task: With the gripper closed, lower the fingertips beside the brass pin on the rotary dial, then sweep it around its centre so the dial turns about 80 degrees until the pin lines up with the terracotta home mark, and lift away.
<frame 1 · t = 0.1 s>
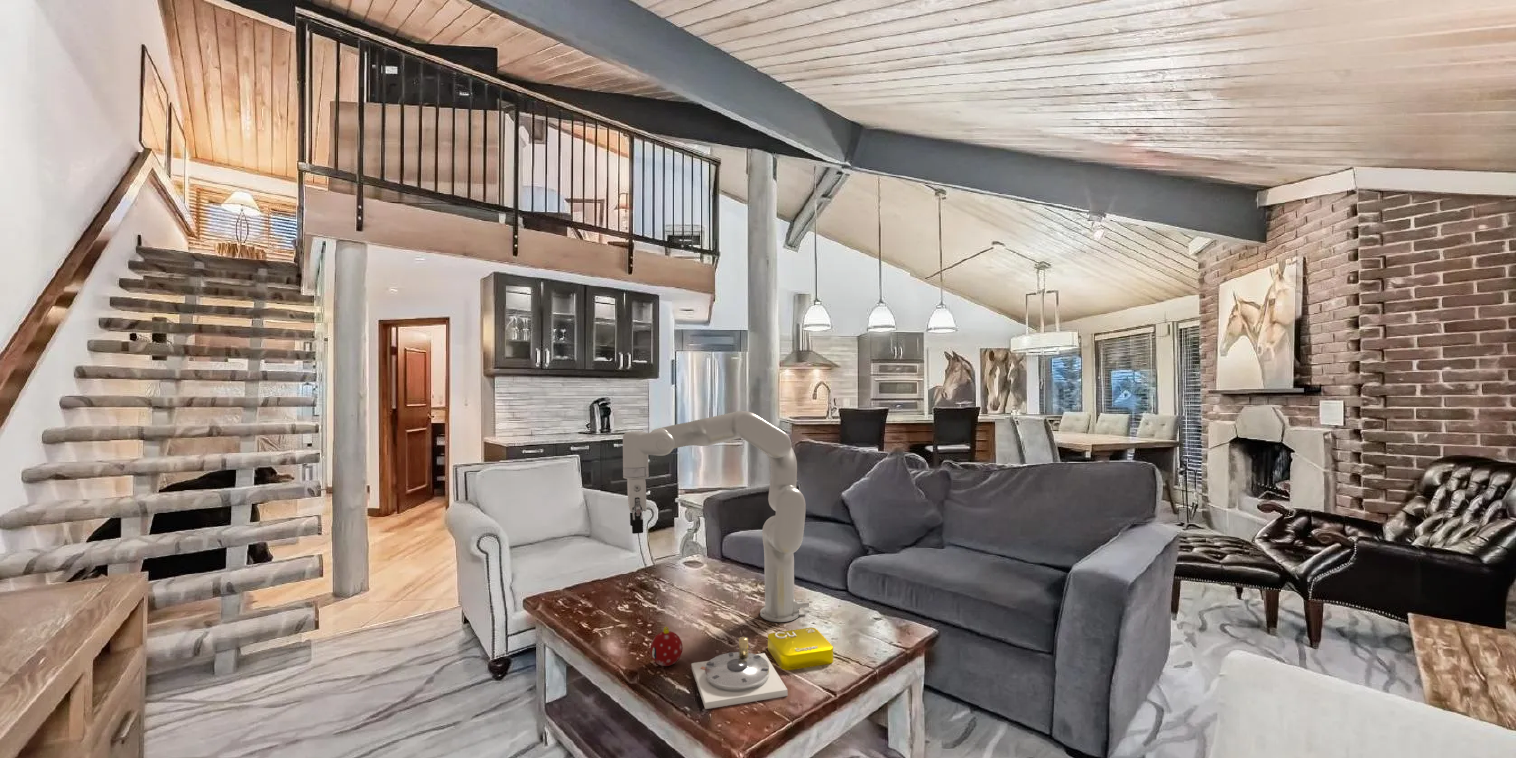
hand: (636, 529, 180), 31 cm above the table, tool pointing down, fingers open, 9 cm apart
rotary dial: (737, 661, 150), point 5 cm above the table, hinge at 0.0°
element tile: (799, 656, 165), on the table
base plate: (737, 681, 150), on the table
christmas ornament: (666, 665, 160), on the table
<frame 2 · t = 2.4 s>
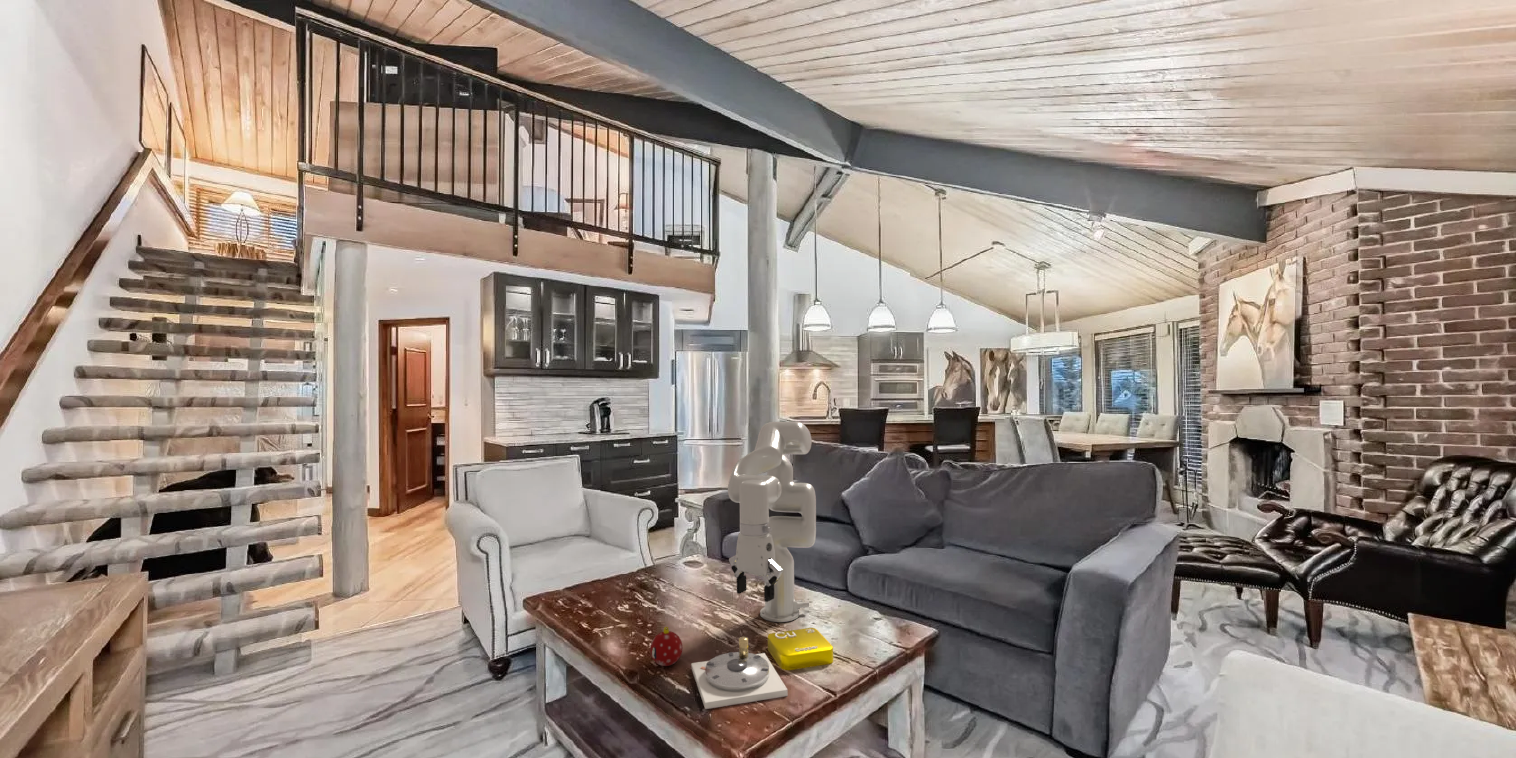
hand: (755, 595, 154), 20 cm above the table, tool pointing down, fingers open, 8 cm apart
nothing on the table moved.
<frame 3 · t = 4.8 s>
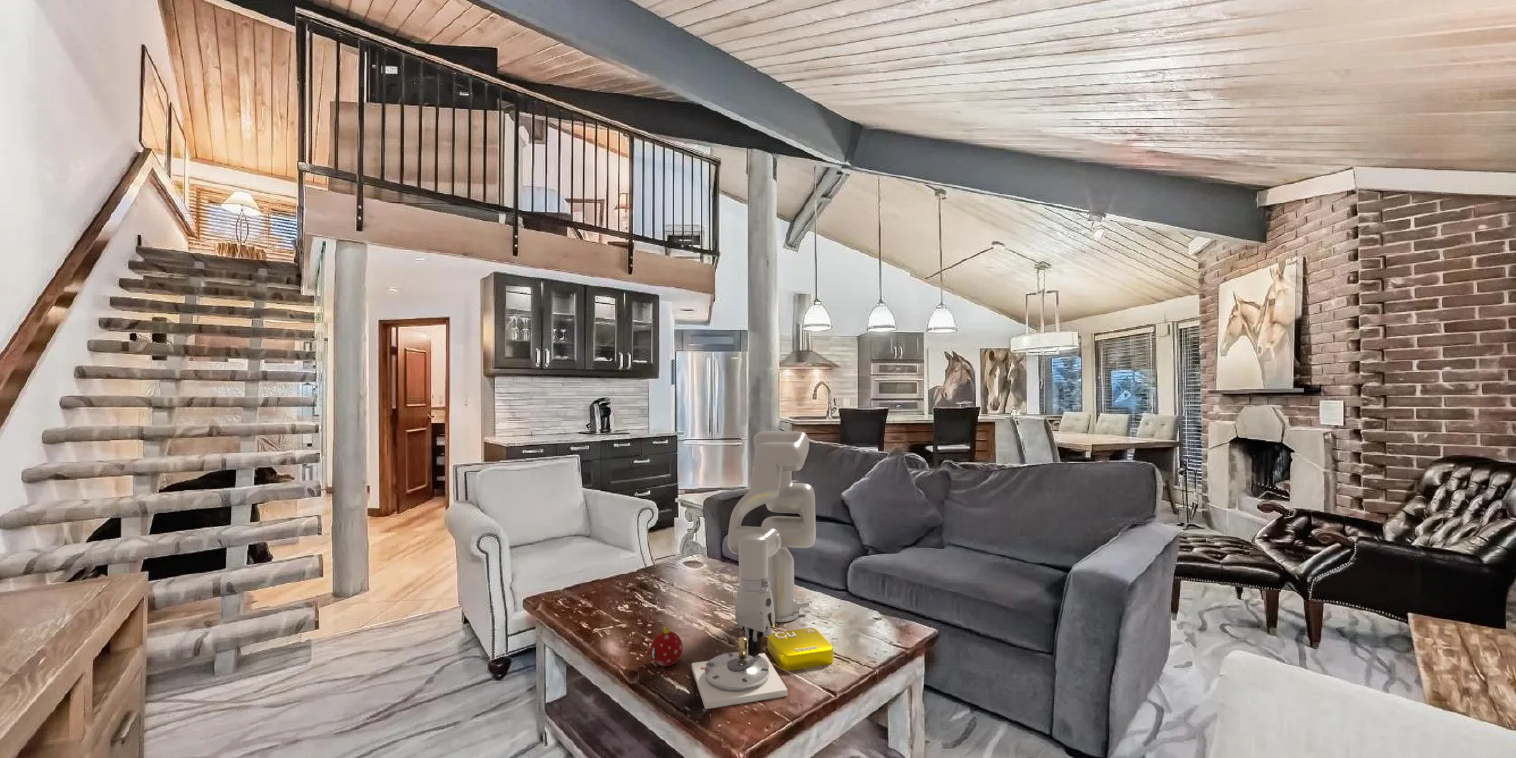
hand: (754, 654, 154), 5 cm above the table, tool pointing down, fingers closed
rotary dial: (737, 661, 150), point 5 cm above the table, hinge at 0.7°, touching gripper
everything else where it was.
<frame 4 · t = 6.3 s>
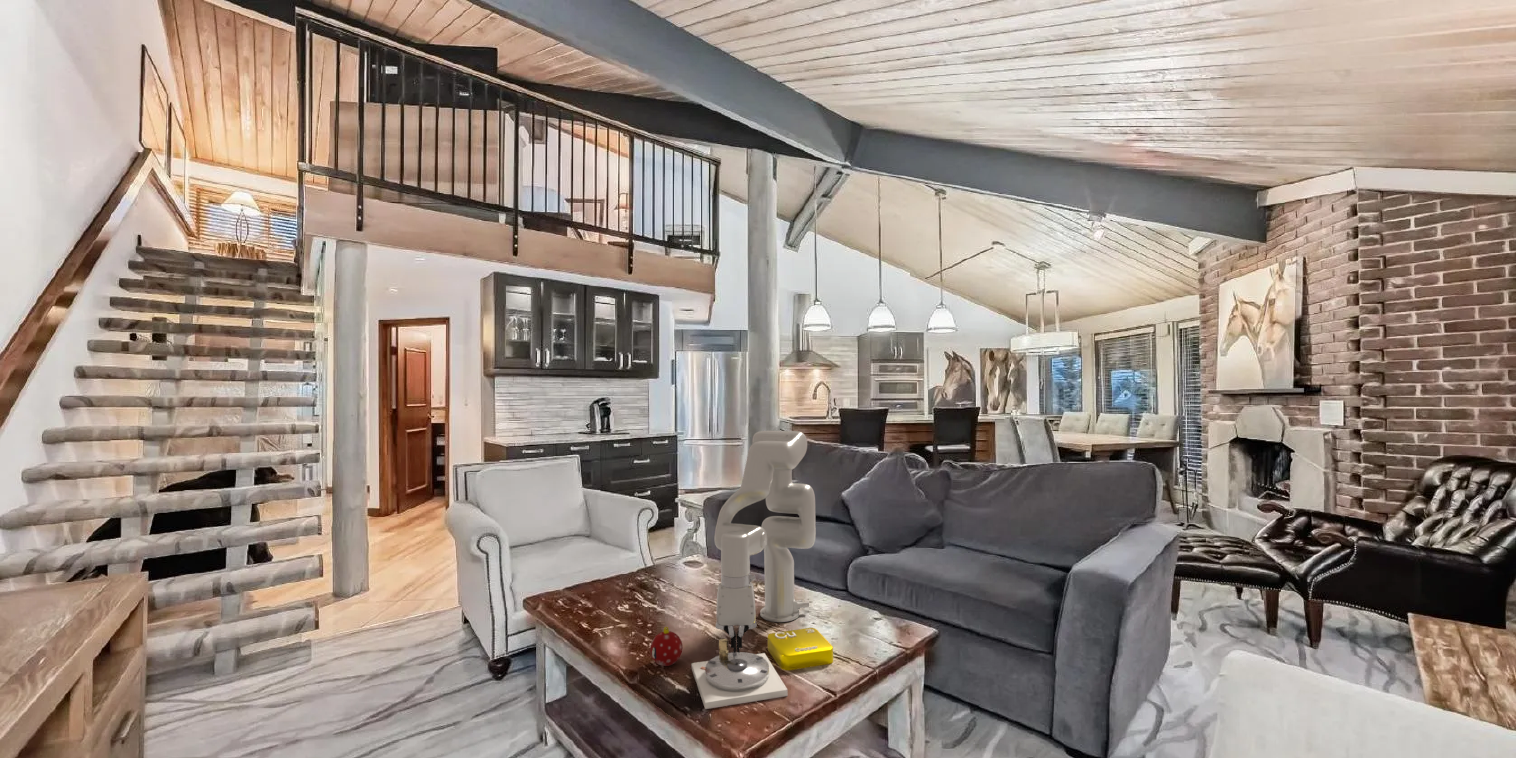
hand: (736, 650, 156), 5 cm above the table, tool pointing down, fingers closed
rotary dial: (737, 661, 150), point 5 cm above the table, hinge at 52.2°, touching gripper
everything else where it was.
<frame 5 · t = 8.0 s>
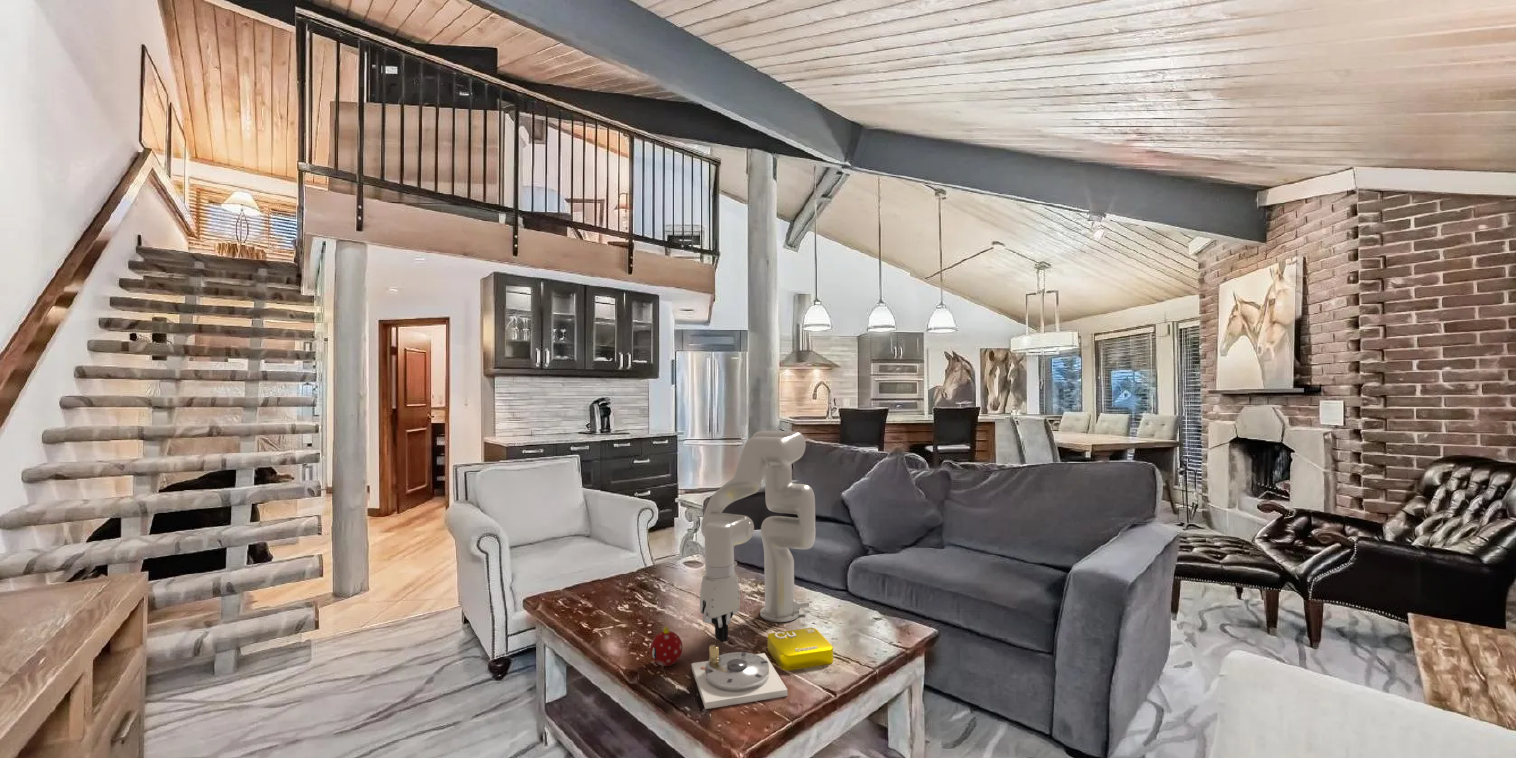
hand: (721, 639, 155), 9 cm above the table, tool pointing down, fingers closed
rotary dial: (737, 661, 150), point 5 cm above the table, hinge at 92.3°
everything else where it was.
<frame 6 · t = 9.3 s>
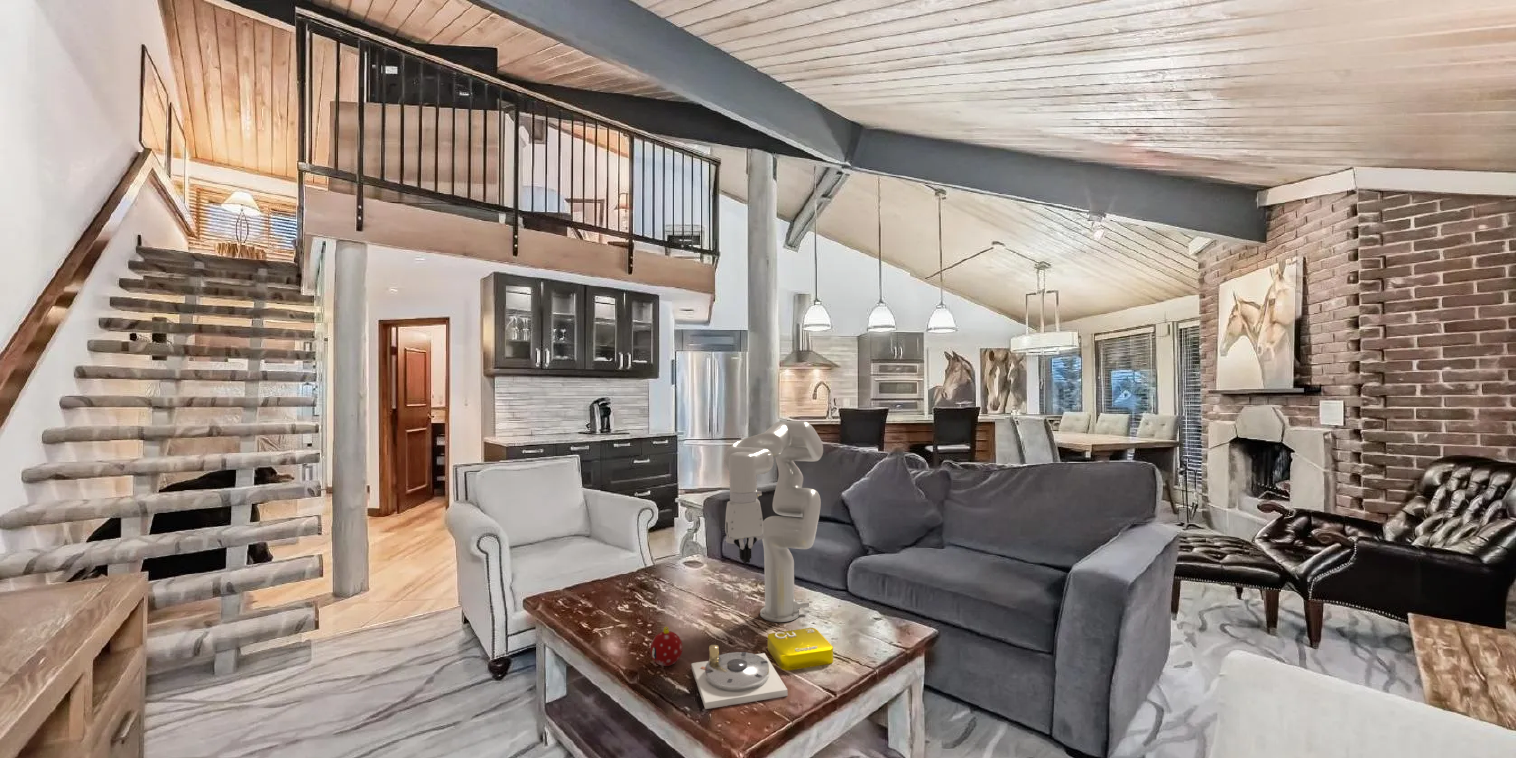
hand: (745, 561, 167), 25 cm above the table, tool pointing down, fingers closed
nothing on the table moved.
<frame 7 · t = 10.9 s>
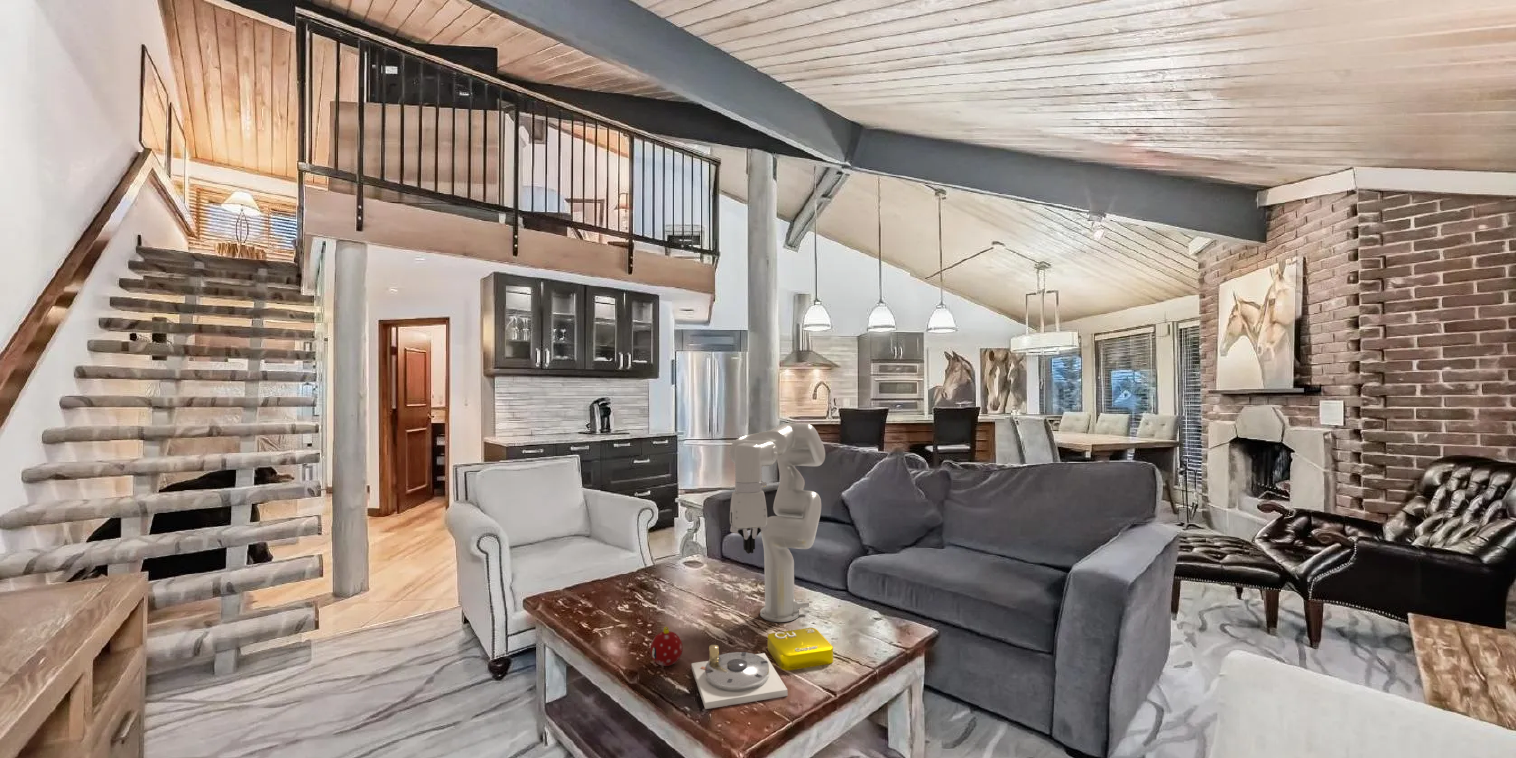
hand: (749, 552, 169), 27 cm above the table, tool pointing down, fingers closed
nothing on the table moved.
at the end: rotary dial at +92° (first picture: +0°) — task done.
